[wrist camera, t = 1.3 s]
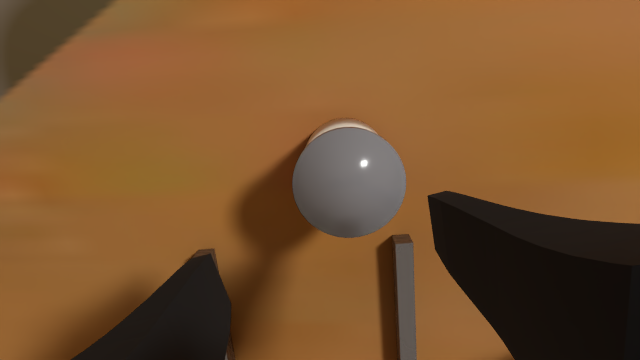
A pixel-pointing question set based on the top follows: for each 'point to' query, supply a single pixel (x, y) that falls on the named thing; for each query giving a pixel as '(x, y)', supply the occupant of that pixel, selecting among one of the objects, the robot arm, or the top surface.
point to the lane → (403, 297)
